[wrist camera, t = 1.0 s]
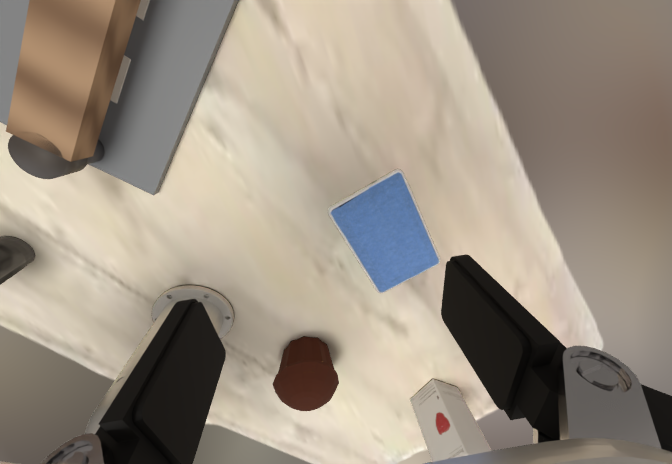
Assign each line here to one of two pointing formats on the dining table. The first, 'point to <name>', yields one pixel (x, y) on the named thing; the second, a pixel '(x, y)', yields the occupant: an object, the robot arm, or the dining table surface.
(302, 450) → the dining table surface
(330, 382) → the muffin
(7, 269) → the beverage cup
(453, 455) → the supplement box
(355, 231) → the tablet computer
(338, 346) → the dining table surface
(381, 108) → the dining table surface
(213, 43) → the label panel
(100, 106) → the swing bar
